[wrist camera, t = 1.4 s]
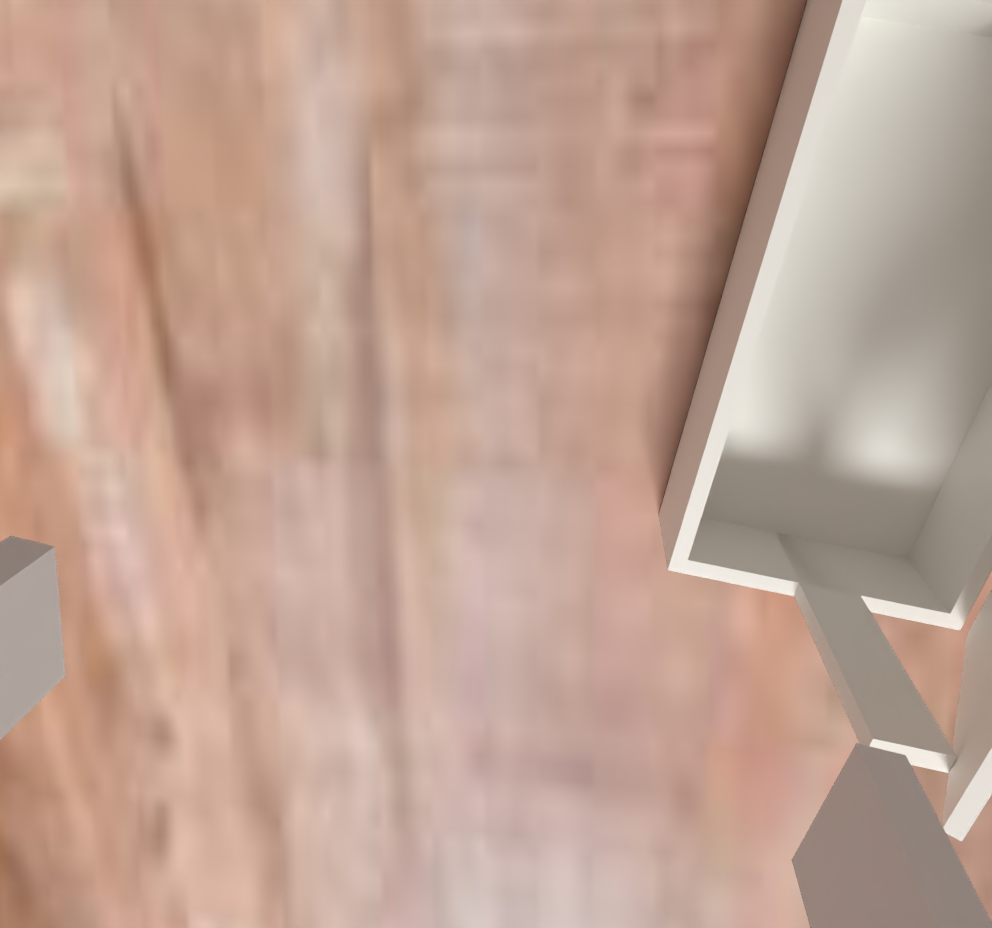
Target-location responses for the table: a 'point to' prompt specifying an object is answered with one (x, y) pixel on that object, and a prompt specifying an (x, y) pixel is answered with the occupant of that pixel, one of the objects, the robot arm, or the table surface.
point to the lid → (972, 731)
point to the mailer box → (857, 355)
